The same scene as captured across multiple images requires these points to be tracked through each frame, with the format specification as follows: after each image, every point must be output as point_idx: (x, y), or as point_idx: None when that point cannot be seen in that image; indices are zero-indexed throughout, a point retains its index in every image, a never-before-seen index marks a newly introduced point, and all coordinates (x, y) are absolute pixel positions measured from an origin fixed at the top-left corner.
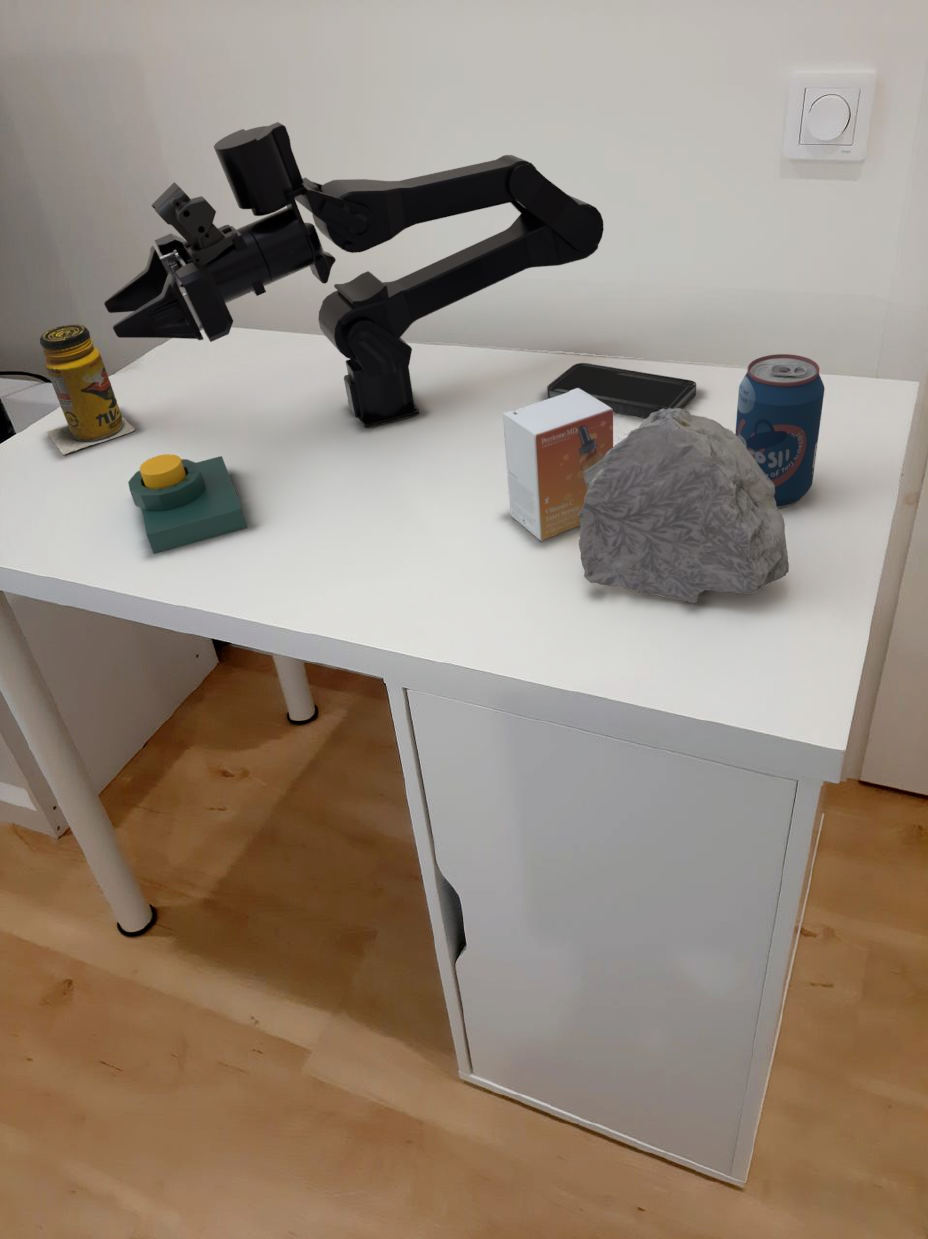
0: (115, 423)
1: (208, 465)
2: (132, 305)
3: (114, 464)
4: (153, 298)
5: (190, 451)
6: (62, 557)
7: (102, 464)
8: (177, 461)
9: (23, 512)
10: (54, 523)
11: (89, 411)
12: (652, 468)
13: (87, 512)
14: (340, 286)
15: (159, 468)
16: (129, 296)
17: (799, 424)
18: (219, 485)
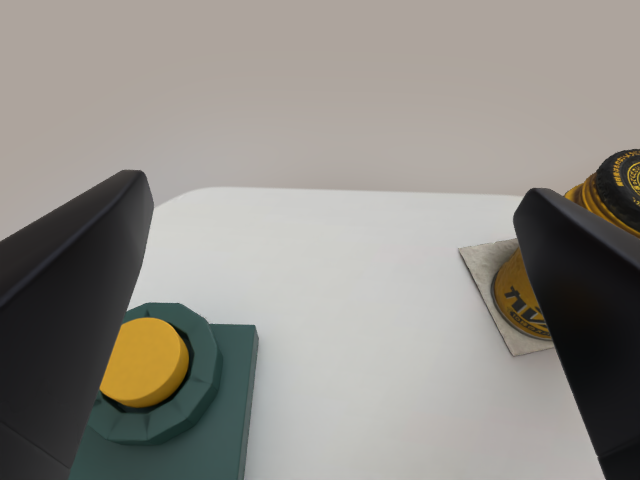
0: (521, 322)
1: (209, 468)
2: (557, 300)
3: (396, 311)
4: (624, 409)
5: (384, 447)
6: (167, 231)
7: (405, 295)
8: (119, 391)
9: (315, 201)
10: (261, 228)
11: (515, 273)
12: None
13: (264, 264)
14: None
15: (119, 352)
16: (586, 280)
17: None
18: (105, 476)
